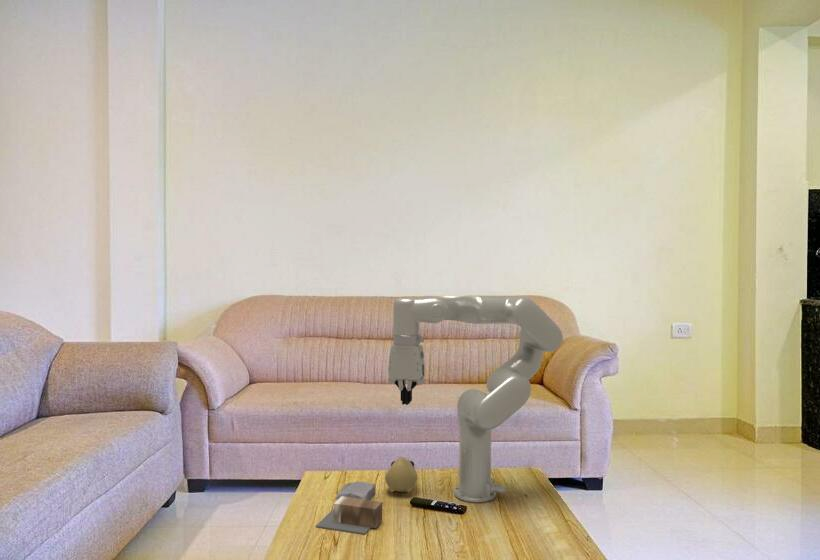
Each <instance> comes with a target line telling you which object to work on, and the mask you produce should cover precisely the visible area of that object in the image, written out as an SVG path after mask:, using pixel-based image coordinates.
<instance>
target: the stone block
mask: <svg viewBox="0 0 820 560" xmlns="http://www.w3.org/2000/svg"><path fill="white" fill-rule="evenodd" d="M375 492H376V485H375V483H371V482H367V481H359V480H357V481H353V482H348V483H346V484H345V485H344V486H342V487H341V488H340V490H339V492H338V493H337V494H336V497H335V498H336V499H335V501H337V500H338V499H339V498H340V497H341V496H343V497H351V498H358V499H366V500H372V497H373V496H374V494H375Z"/></svg>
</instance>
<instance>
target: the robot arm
mask: <svg viewBox="0 0 820 560" xmlns="http://www.w3.org/2000/svg"><path fill="white" fill-rule="evenodd" d="M392 311H393V317H392V318H393V320H392V321H393V333H392V335H393V336H392V337H393V340H392V341H393V342H392V343H393V344H391V346H390V350H389V356H388V368H387V373H388V380H387V382H388V383H390V384H394V385H395V386H396V387H397V388H398V390H399V391H400V402H401V405H402V406H404V405H405V406H408V405H409V404H411V402H412V401H413V389H414V388H415V387H417V386H422V385H423V384H425V376H426V366H425V365H426V364H425V363H426V362H425V353H424V348H423V345H422V344H420V343H424V342H425V337H422V336H421V334H420V323H428V324H439V323H441V322H443V321H457V322H461V323H466V324H475V325H483V324H486V325H487V324H488V325H489V324H491V325H492V324H495V325H496V324H498V325H499V324H501V325H502V324H503V325H504V324H508V325H509V324H511V325H517V326H519V327H520V331H519V343H518V349H517V350H516V352H515V353H514V354H513V355H512V356H511V357H510V358H509V359H508V360H507V361H506V362H504V363H503V364H502V365H500V367H498V368H497V369H496V370H494V371H493V372H492V373H491V374H490V375H489V376H488V378H487V380H486V389H487V391H488V392H489V393H487V392H484V391H482V390H480V389H476V388H471V389H467V390H465V391H463V393H461V395H460V396H459V398H458V400H457V405H456V407H457V408H456V409H457V417H458V426H459V427H458V428H459V447H458V448H459V451H458V452H459V455H458V456H459V457H458V459H459V463H458V464H459V465H458V466H459V467H458V469H459V471H458V474H459V475H458V476H459V477H458V483H459V484H458V485H456V486H455V488H454V489H453V490H454V491H453V493H454V496H455V497H456V498H457V499H459V500H461V501H465V502H470V503H487V502H490V501H492V500H494V499H495V498H497V497H496V496H497V493H498V494H502V495H503V494H506V491H507V490H506V489H507V487H506V486H504V485H503V484H502V483H496V482H494V478H493V477H492V430H494V429H496V428H498V427H499V426H501V425H502V424H503V423H505V422H506V421H507V420H508V419H509V418H510V417H511V416H513V415H514V414H515V413H517V412H518V411H519V410H520V409H521V408H522V407H523V406H525V404H526V403H527V402H528V401H529V398H530V396H531V393H532V386H531V385H532V384H531V382H530V381H529V380H530V379H532V377H534V376H535V375H536V374H537V372H538V371H539V370H540V368H541V365H542V362H543V356H544V352H545V353H546V352H547V353H550V352H555V351H556V350H558V349H559V348H560V347H561V346H562V343H563V340H564V339H563V332H562V330H561V328H560V327H559V325H558V324H557V323H556V322H555V321H554V320H553V319H552V318H551V317H550V316H549V315H548V314H547V313H546V312H545V311H544V310H543V309H542V308H541V307H540V306H539V305H538V304H537V303H536V302H535V301H534V300H532V299H530V298H529V297H525V296H517V295H478V294H477V295H476V294H475V295H423V296H419V298H414V297H397V298H396V299H394V301H393V310H392ZM406 381H407V384H406Z"/></svg>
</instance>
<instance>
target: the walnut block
mask: <svg viewBox="0 0 820 560" xmlns="http://www.w3.org/2000/svg"><path fill="white" fill-rule="evenodd" d="M333 509H334V522H338V523H344V524H351V525H358V526H365V527H371V528H370V529H372V528H373V529H376V528H377V527H378V526H379V524H381V522H382V521H383V501H381V500H374V499H370V500H366V499H358V498H351V497H343V496H341V497H340V498H339V499H338V500H335V502H333Z"/></svg>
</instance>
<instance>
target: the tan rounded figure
mask: <svg viewBox="0 0 820 560" xmlns="http://www.w3.org/2000/svg"><path fill="white" fill-rule="evenodd" d="M384 480H385V483H386V485H387V486H388V487H389V492H391V493H394V492H399V493H402V492H407V493H411V492H412V491H413V489H414V487H415V486H416V483H417V482H418V473H417V471H416V468H415V462H414V461H412V460H409V459H407V458H405V457H404V456H399V457H398V458H397V459H395V460H393V461H391V463H390V467H389V469H388V470H387V472H386V474H385V476H384Z"/></svg>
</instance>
